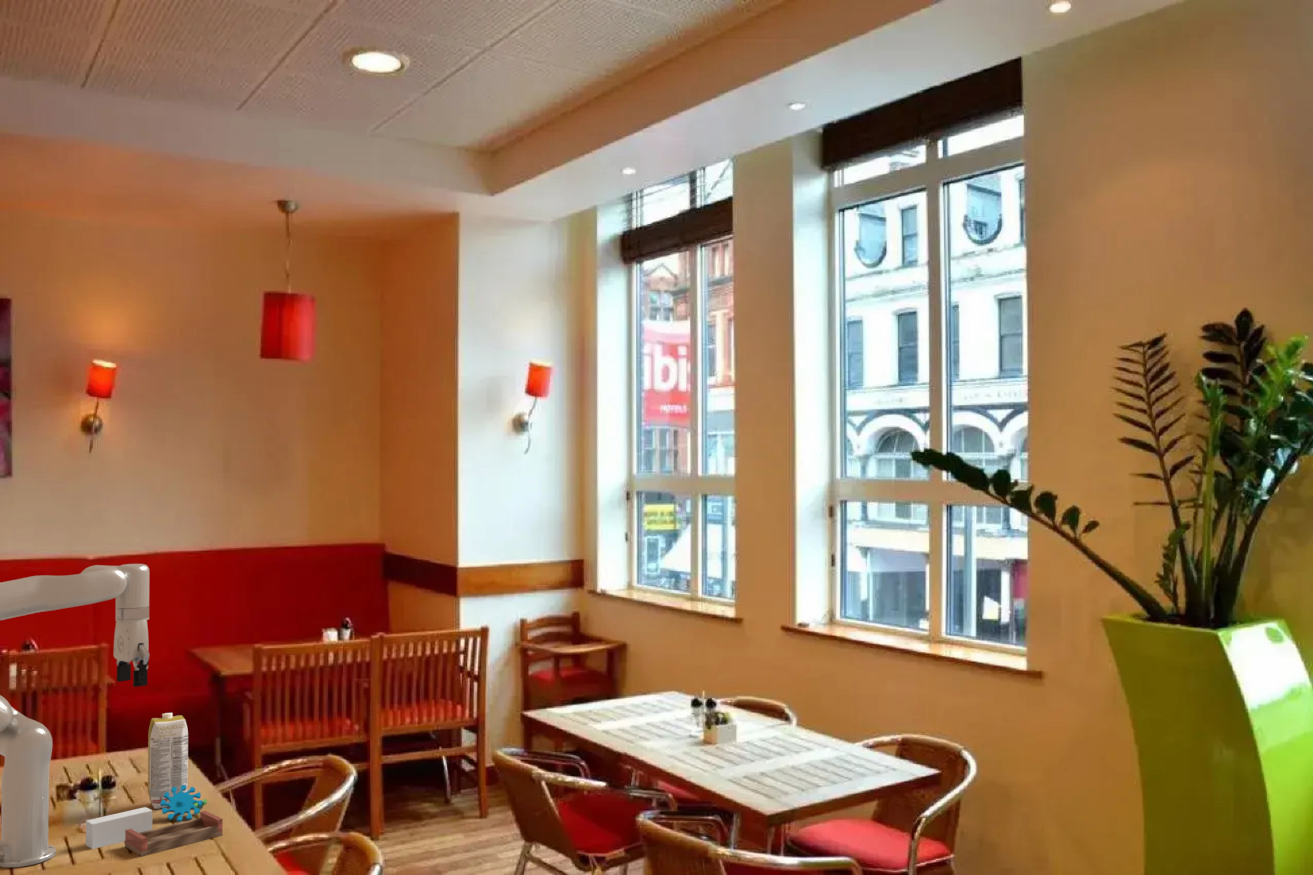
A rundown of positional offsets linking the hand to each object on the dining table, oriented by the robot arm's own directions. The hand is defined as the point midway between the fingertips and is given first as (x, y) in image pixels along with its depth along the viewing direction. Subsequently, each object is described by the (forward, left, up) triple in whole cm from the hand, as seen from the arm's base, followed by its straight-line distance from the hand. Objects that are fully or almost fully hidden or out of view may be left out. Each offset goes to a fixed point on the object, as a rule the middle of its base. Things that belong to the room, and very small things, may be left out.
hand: (131, 683), depth 273 cm
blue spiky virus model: (+14, +2, -37) cm, 40 cm away
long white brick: (-4, -3, -37) cm, 37 cm away
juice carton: (+16, +16, -37) cm, 43 cm away
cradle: (+5, -14, -37) cm, 40 cm away
